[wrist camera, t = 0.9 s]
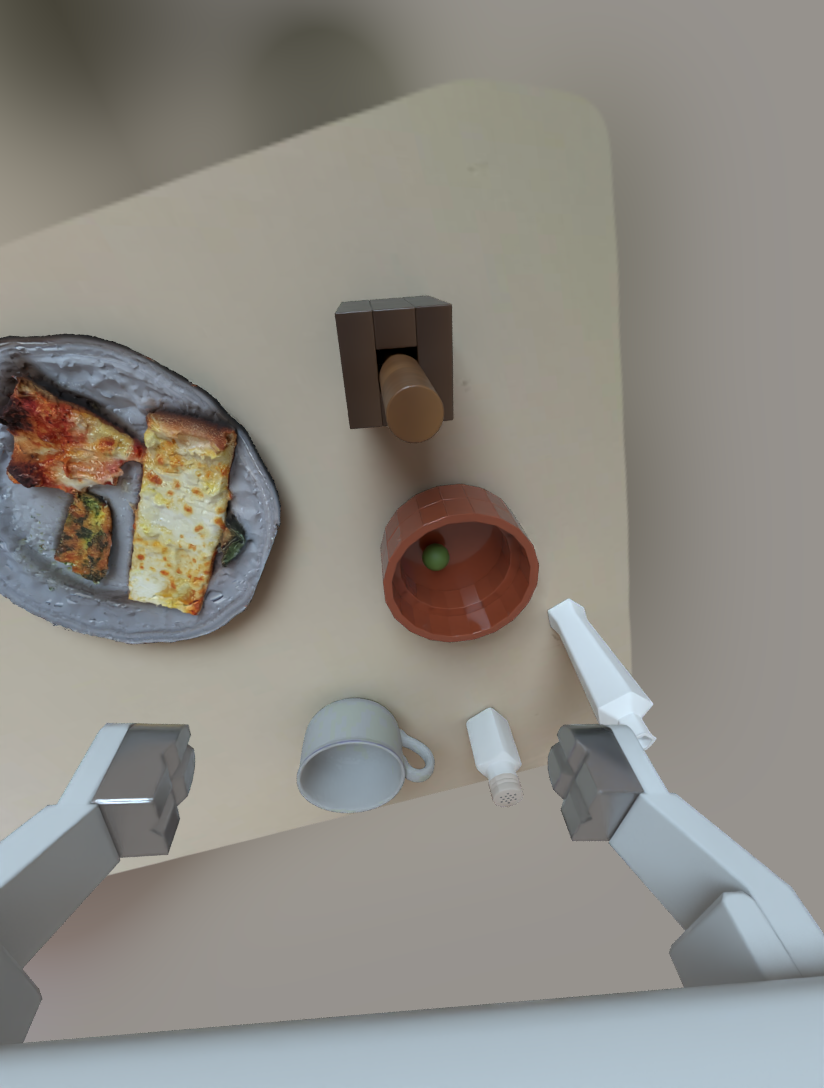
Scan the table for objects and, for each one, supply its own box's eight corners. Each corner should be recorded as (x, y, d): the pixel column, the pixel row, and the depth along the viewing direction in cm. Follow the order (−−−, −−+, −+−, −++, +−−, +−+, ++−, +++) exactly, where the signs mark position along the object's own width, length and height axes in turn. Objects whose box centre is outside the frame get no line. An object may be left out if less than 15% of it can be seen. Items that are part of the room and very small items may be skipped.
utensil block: (429, 295, 31) (452, 303, 23) (432, 386, 34) (453, 420, 27) (340, 302, 31) (334, 312, 23) (352, 393, 34) (350, 429, 26)
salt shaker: (482, 735, 56) (503, 813, 48) (463, 720, 54) (481, 799, 46) (509, 719, 55) (534, 797, 47) (490, 703, 53) (513, 781, 45)
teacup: (295, 739, 53) (285, 808, 46) (317, 674, 48) (311, 741, 41) (407, 754, 57) (414, 821, 50) (439, 695, 52) (452, 760, 45)
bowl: (520, 474, 39) (545, 506, 33) (512, 592, 45) (532, 633, 40) (374, 488, 38) (376, 522, 33) (387, 605, 44) (390, 649, 39)
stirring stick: (403, 328, 32) (443, 382, 17) (405, 361, 33) (445, 441, 18) (372, 330, 32) (383, 387, 16) (375, 364, 33) (388, 446, 18)
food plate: (-47, 262, 28) (-97, 262, 25) (319, 421, 35) (316, 436, 32) (-51, 577, 38) (-86, 603, 35) (231, 650, 45) (221, 677, 42)
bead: (446, 537, 40) (451, 551, 38) (447, 559, 42) (452, 574, 40) (419, 539, 40) (423, 554, 38) (421, 562, 41) (424, 577, 39)
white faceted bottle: (555, 638, 49) (625, 769, 36) (537, 614, 47) (603, 743, 34) (594, 616, 48) (680, 743, 35) (576, 590, 46) (661, 715, 33)
